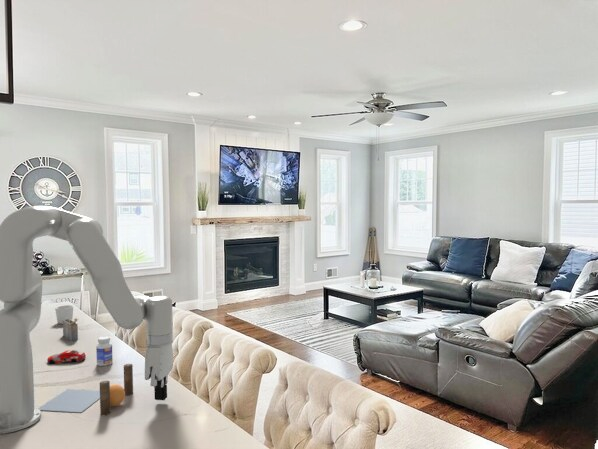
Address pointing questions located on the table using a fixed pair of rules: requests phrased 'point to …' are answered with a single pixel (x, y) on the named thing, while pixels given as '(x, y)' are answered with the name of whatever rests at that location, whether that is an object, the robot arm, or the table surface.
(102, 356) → the pill bottle
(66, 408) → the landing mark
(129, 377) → the gate post right
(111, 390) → the ball
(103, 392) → the gate post left
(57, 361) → the race car
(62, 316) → the cup
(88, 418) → the table surface
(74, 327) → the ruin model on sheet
